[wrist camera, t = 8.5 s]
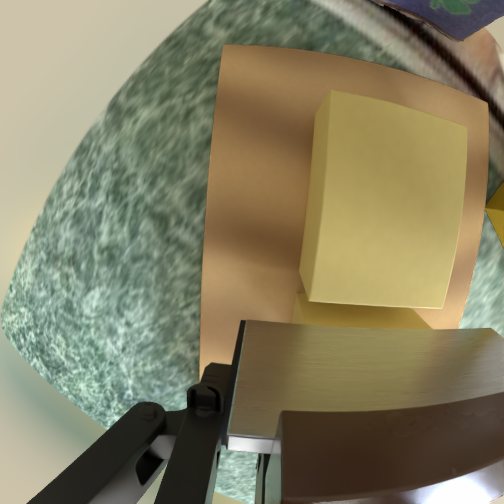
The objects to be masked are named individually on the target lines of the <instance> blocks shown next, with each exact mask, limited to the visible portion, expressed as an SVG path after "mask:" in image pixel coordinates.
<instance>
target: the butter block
mask: <svg viewBox="0 0 504 504" xmlns="http://www.w3.org/2000/svg"><path fill="white" fill-rule="evenodd" d="M466 163H467V126H465V125H462V124H460V123H457V122H454V121H451V120H448V119H445V118H442V117H439V116H436V115H433V114H430V113H427V112H424V111H420V110H417V109H414V108H410V107H406V106H403V105H399V104H395V103H391V102H387V101H383V100H379V99H375V98H370V97H366V96H361V95H356V94H351V93H346V92H340V91H334V90H331V91H330V92H329V94H328V95H327V97H326V98H325V100H324V101H323V103H322V104H321V106H320V107H319V109H318V110H317V112H316V113H315V122H314V135H313V147H312V159H311V170H310V180H309V190H308V200H307V209H306V218H305V227H304V235H303V243H302V251H301V259H300V267H299V273H300V276H301V279H302V282H303V285H304V288H305V291H306V294H307V297H308V300H309V301H313V302H326V303H339V304H354V305H370V306H387V307H408V308H433V309H442V308H443V304H444V301H445V297H446V293H447V289H448V285H449V281H450V277H451V272H452V268H453V263H454V258H455V253H456V248H457V242H458V236H459V230H460V223H461V216H462V209H463V200H464V190H465V178H466Z"/></svg>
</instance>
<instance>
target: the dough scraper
mask: <svg viewBox="0 0 504 504" xmlns="http://www.w3.org/2000/svg"><path fill="white" fill-rule="evenodd" d="M226 449H228V450H234V451H243V452H254V453H267V454H271V456H270V460H269V465H268V469H267V473H266V478H265V504H487V503H489V502H491V501H493V500H495V499H497V498H499V497H501V496H503V495H504V338H503V337H502V336H501V335H499V334H498V333H497V332H495V331H494V330H493V329H492V328H476V329H382V328H356V327H336V326H320V325H306V324H293V323H281V322H270V321H260V320H250V319H247V320H246V324H245V330H244V336H243V342H242V348H241V354H240V360H239V365H238V371H237V377H236V383H235V389H234V394H233V400H232V406H231V412H230V417H229V423H228V429H227V435H226Z"/></svg>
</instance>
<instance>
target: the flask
mask: <svg viewBox="0 0 504 504" xmlns="http://www.w3.org/2000/svg"><path fill="white" fill-rule="evenodd" d="M371 1H373V2H375V3H377V4H379V5H381V6H384V5H386V6H389V7H391V8H393V9H395V10H396V11H399V12H400V13H402V14H404V15H406V16H407V17H410V18H412V19H415V20H416V19H417V20H422V21H424V22H425V23H426V24H427V26H431V27H434V28H436V29H437V30H438V31H439V32H440V33H442V34H444V35H446V36H447V37H449V38H451V39H452V40H453V41H463V40H464V39H465V38H466V37H468V36H470V35H472V34H473V33H474V32H476V31H478V30H480V29H481V28H482V27H485V26H487V25H488V24H490V23H492V22H493V21H494V20H496V19H498V18H500V17H502V16H504V0H371ZM463 42H464V41H463Z"/></svg>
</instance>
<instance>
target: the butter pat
mask: <svg viewBox="0 0 504 504" xmlns="http://www.w3.org/2000/svg"><path fill="white" fill-rule="evenodd" d="M291 323H293V324H306V325H320V326H336V327H356V328H382V329H432V328H431V327H430V326H429V325H428V324H427V323H426V322H425V321H424V320H423V319H422V318H421V317H420V316H419V315H418V314H417V313H416V312H415V311H414V310H413V309H412V308H408V307H387V306H370V305H354V304H339V303H326V302H313V301H309V300H308V297H307V294H306V293H296V296H295V302H294V309H293V316H292V322H291Z"/></svg>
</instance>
